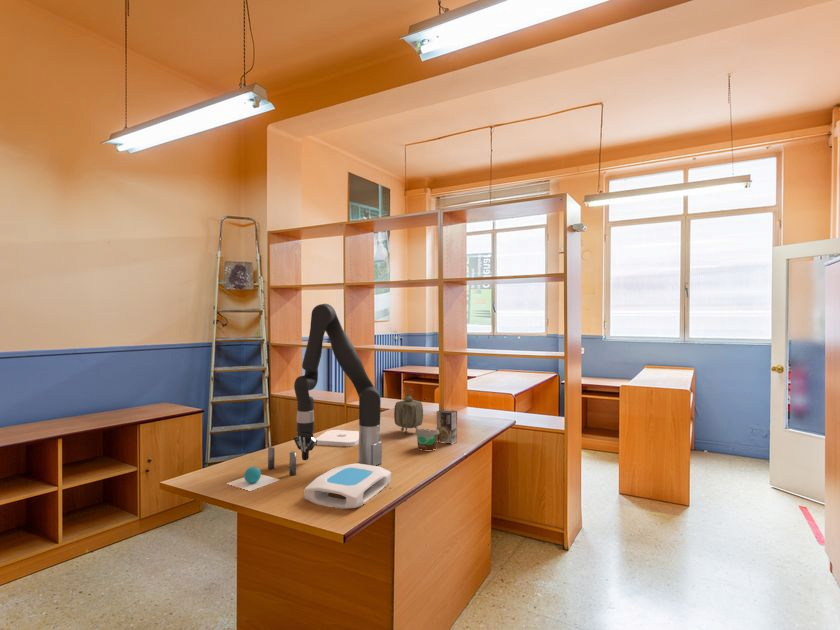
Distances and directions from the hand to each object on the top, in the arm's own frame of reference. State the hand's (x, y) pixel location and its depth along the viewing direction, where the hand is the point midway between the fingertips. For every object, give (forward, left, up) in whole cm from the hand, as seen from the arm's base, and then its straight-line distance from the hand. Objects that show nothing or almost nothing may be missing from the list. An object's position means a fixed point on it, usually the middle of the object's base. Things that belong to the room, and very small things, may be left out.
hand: (305, 459), depth 198 cm
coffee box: (-36, -64, -2) cm, 73 cm away
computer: (+12, -37, -2) cm, 39 cm away
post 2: (-7, +13, -2) cm, 15 cm away
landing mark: (0, +27, -2) cm, 27 cm away
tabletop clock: (-9, -68, -2) cm, 69 cm away
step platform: (-38, +14, -2) cm, 41 cm away
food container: (-34, -46, -2) cm, 57 cm away
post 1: (+7, +13, -2) cm, 15 cm away
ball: (0, +28, +2) cm, 28 cm away
